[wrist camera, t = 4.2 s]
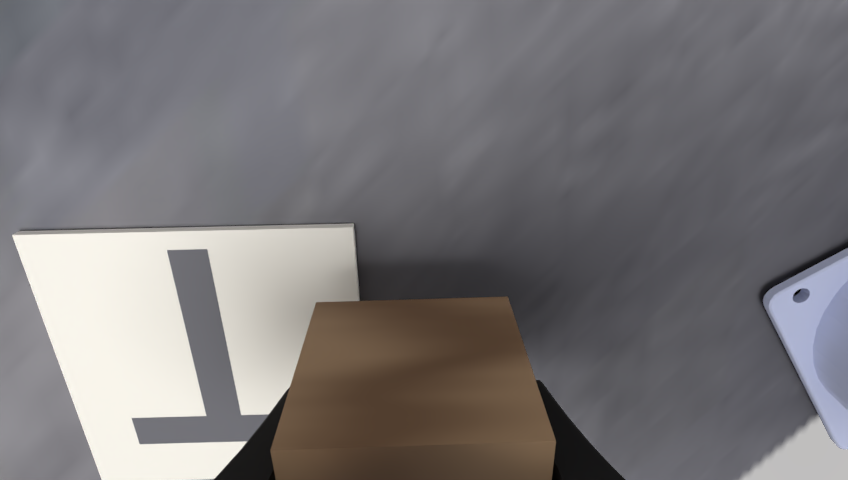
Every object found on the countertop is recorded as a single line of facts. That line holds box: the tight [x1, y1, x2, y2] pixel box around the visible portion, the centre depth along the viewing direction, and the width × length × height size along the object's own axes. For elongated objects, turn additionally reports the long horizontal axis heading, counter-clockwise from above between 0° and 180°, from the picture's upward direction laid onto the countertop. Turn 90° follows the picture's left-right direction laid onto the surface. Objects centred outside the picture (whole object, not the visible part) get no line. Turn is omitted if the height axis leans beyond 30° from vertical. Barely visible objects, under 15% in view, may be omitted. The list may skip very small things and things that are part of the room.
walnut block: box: [270, 297, 556, 480], centre depth 13 cm, size 5×5×5 cm
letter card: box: [12, 223, 360, 480], centre depth 18 cm, size 10×10×1 cm
